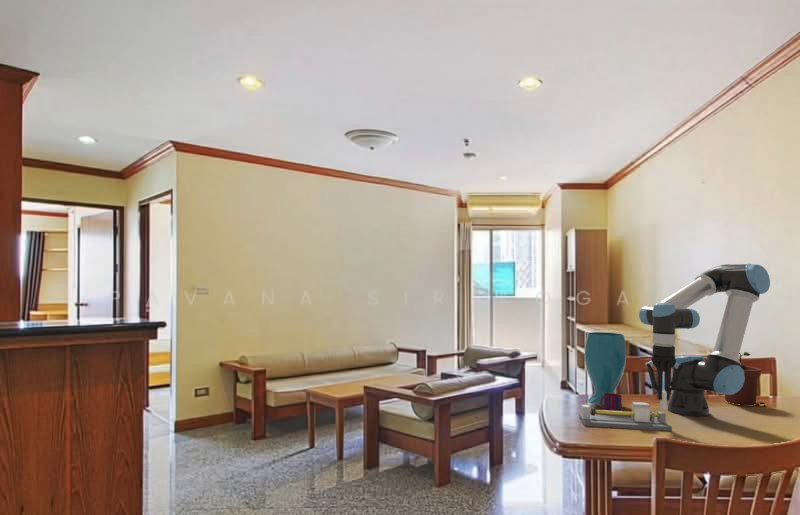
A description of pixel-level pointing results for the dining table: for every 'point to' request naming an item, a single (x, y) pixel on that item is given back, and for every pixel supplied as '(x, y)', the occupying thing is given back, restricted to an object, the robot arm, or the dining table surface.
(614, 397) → the mug
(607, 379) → the vase
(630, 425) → the linear slide mechanism
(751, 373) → the potted plant
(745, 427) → the dining table surface
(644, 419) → the sleeve
